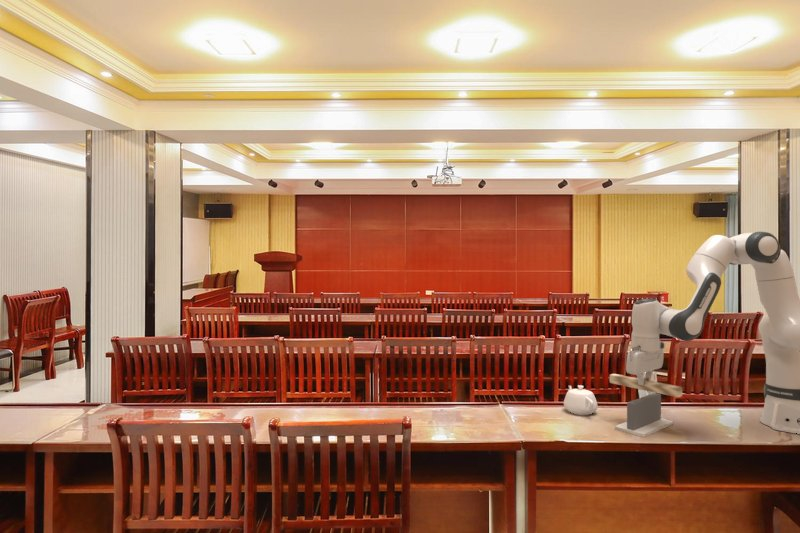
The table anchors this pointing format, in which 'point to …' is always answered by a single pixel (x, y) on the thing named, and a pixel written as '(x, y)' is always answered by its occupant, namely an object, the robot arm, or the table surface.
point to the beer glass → (643, 392)
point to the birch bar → (646, 385)
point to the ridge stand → (644, 416)
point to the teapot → (580, 401)
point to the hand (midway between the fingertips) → (644, 383)
